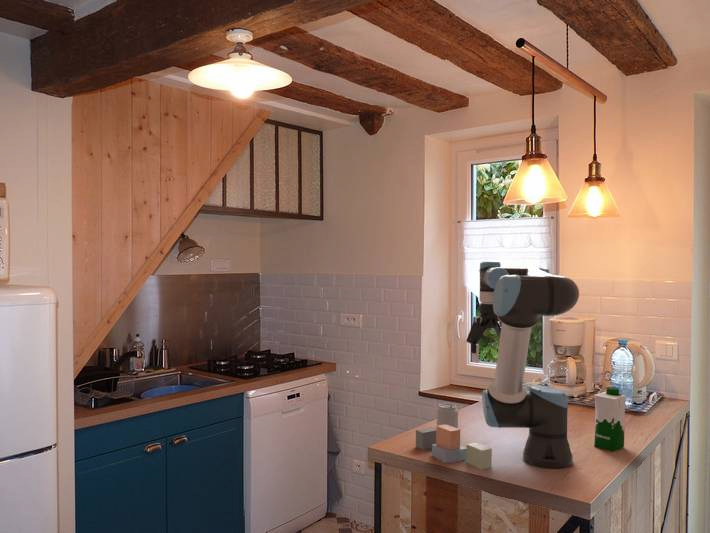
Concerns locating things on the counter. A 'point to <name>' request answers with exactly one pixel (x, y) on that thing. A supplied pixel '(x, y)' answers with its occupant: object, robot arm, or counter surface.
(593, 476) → the counter surface
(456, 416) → the can
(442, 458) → the slate blue brick
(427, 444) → the charcoal brick
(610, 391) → the milk carton
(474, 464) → the sage brick
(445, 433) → the terracotta brick
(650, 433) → the counter surface
